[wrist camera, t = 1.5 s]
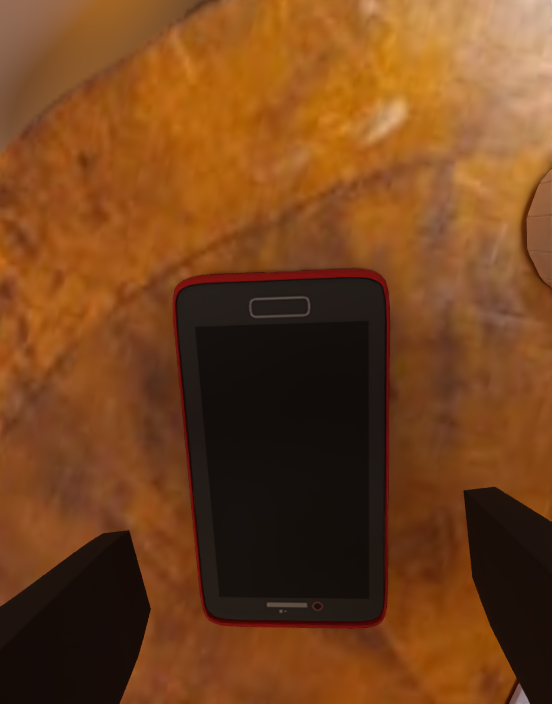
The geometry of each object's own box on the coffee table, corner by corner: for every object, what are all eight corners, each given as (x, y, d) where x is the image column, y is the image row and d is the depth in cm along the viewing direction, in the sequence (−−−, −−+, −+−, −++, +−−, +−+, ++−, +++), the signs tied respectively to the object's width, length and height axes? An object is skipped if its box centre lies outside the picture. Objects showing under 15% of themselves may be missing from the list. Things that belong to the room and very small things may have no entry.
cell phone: (386, 266, 17) (391, 267, 17) (384, 613, 21) (388, 631, 20) (175, 275, 18) (167, 277, 17) (207, 610, 22) (202, 627, 21)
